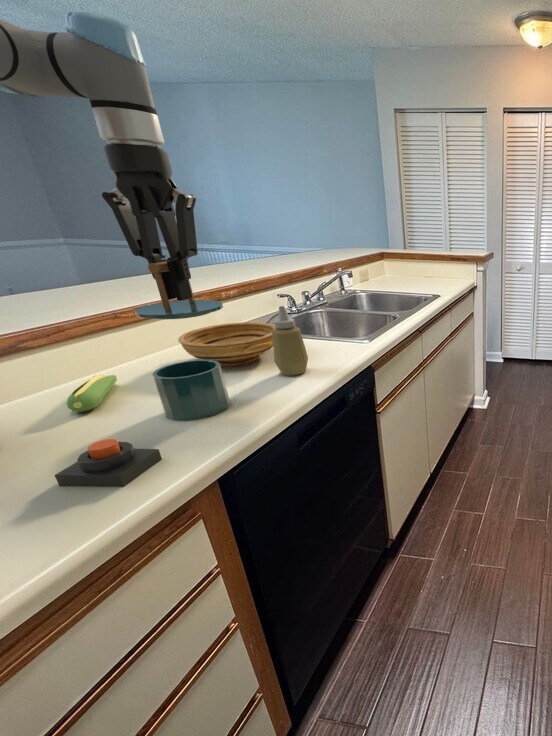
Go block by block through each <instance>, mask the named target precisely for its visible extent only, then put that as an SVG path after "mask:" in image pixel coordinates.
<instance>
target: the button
mask: <svg viewBox="0 0 552 736" xmlns="http://www.w3.org/2000/svg"><path fill="white" fill-rule="evenodd" d="M118 442H119V441H118V439H115V438H108V439H102V440H98V441H95V442H93V443H91V444H89V445H88V447H87V450H88V452H89V454H90V456H91V458H92V459H100V458H105V457H108V456H111V455H114V454H116V453H118V452H119V451H120V450H121V449H120V446H119V444H118Z"/></svg>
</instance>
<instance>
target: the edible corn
mask: <svg viewBox="0 0 552 736" xmlns="http://www.w3.org/2000/svg"><path fill="white" fill-rule="evenodd" d="M117 381H118V377H117V375H114V374H111V375H103V374H102V375H94V376H93V377H91V378H90V379H89V380H87V381H85V382H84V383H82V384H81V385H79V386H78V387H77V388H75V390H74V391H72V392H71V393H70V394H69V395H68V397H67V401H66V406H67V408H68V409H69V410H71V412H79V413H83V412H87V411H91V410H93V409H95V408H98V407H99V406H100V405H101V404H102V403H103V401H104V399H105V398H106V396H107V395H108V393H109V392H110V391H111V389H112V387H113V386H114V385H115V383H116V382H117Z"/></svg>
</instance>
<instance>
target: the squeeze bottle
mask: <svg viewBox="0 0 552 736" xmlns="http://www.w3.org/2000/svg"><path fill="white" fill-rule="evenodd" d="M273 325H275V327H276V328H275V329H274V330H273V331H272V337H273V347H272V348H273V360H274V364H275V366H276V367H277V369H278V370H279V372H280V373H281V375H282V376H287V377H291V376H298V375H299V376H300V375H301V374H304V373H305V372H307V367H308V366H307V365H308V360H309V355H308V352H307V349H306V346H305V342H304V339H303V335H302V331H301V328H299V327H298V326H296V321H295V319H294V318H290V316H289V314H288V312H287V310H286V307H285V306H284V305H279V306H278V318H277V319H276V320H274V321H273Z"/></svg>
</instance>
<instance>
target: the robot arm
mask: <svg viewBox="0 0 552 736" xmlns="http://www.w3.org/2000/svg"><path fill="white" fill-rule="evenodd" d="M64 22H65V30H66V32H64V31H61V32H58V31H57V32H51V31H43V30H31V29H26V28H22V27H20V26H17V25H15V24H12V23H10V22H9V21H6V20H4V19H1V18H0V91H1V92H4V93H8V94H16V95H23V96H27V97H33V98H34V97H38V96H39V97H42V96H43V97H62V98H63V97H65V98H67V97H68V98H84V99H88V100H89V103H90V106H91V110H92V114H93V117H94V120H95V124H96V127H97V131H98V134H99V137H100V139H101V140H103V141H105V142H107V143H106V144H105V145H104V146H103V150H104V153H105V156H106V159H107V162H108V166H109V169H110V170H111V171H112V172H113V173H114V174H115V176H116V177H115V188H114V189H112V190H110V191H103V192H102V193H101V197H102V199H103V200H104V201H105V202H106V204H107V205H108V206H109V207H110V209H111V210H112V212H113V214H114V217H115V219H116V222H117V223H118V225H119V227H120V230H121V232H122V234H123V237H124V238H125V241H126V242H127V245H128V247H129V249H130V251H131V253H132V255H133V256H134V257H141V258H144V259H145V260H146V261H147V262H148V265H149V264H151V263H157V262H163V261H167V265H168V269H169V271H168V272H162V273H161V276H162V279H163V283H164V286H165V290H166V293H167V296H168V300H169V301H170V300H174V299H176V301H186V300H188V299H189V298H193V297H192V293H191V289H192V288H191V289H190V286H189V282H188V279H189V280H191V279H192V274H191V271H190V267H189V262H188V259H189V258H191V257H195V256H198V244H197V233H196V226H195V225H196V224H195V214H194V208H195V205H196V202H197V197H196V196H195V195H194V194H190V193H185V192H184V191H182V190H180V189H178V186H177V184H176V183H175V181H174V180H173V178H172V174H173V169H172V165H171V162H170V158H169V155H168V151H166V149H164V148H162V147H161V146H165V143H166V142H165V138H164V135H163V131H162V127H161V124H160V119H159V116H158V113H157V109H156V107H155V102H154V97H153V94H152V89H151V85H150V80H149V77H148V73H147V69H146V67H147V63H146V62H145V59H144V57H143V54H142V50H141V48H140V44H139V42H138V38H137V36H136V34H135V32H134V31H133V29H131V28H130V26H128V25H127V24H124V22H122V21H119V20H118V19H115V18H112V17H109V16H107V15H103V14H100V13H95V12H89V11H82V10H73V11H69V12H67V13H65V15H64ZM173 203H174V204H175V208H174V206H173ZM157 224H158V226H157ZM158 227H159V230H160V232H161V235H162V238H163V241H164V244H165V246H166V249H167V251H168V254H169V257H167V255H166V254H163V251H162V246H161V240H160V236H159V230H158ZM166 257H167V258H166ZM187 262H188V263H187ZM151 276H152V278H153V279H154V280H155V276H154V273H152V272H151Z"/></svg>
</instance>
